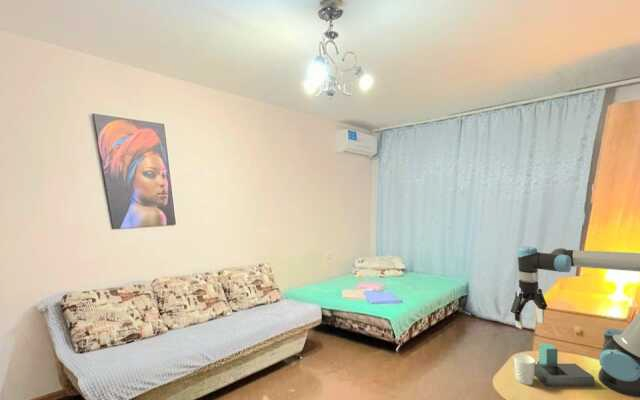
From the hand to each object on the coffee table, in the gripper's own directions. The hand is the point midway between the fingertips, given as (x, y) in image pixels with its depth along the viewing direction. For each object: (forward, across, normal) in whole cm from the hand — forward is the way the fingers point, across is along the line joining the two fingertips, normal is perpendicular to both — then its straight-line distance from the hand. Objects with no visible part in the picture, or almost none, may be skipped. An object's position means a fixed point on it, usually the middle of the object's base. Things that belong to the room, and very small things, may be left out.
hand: (529, 325), depth 143 cm
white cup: (+21, +11, +5) cm, 24 cm away
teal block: (+21, -9, +1) cm, 23 cm away
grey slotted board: (+21, -5, +10) cm, 24 cm away
